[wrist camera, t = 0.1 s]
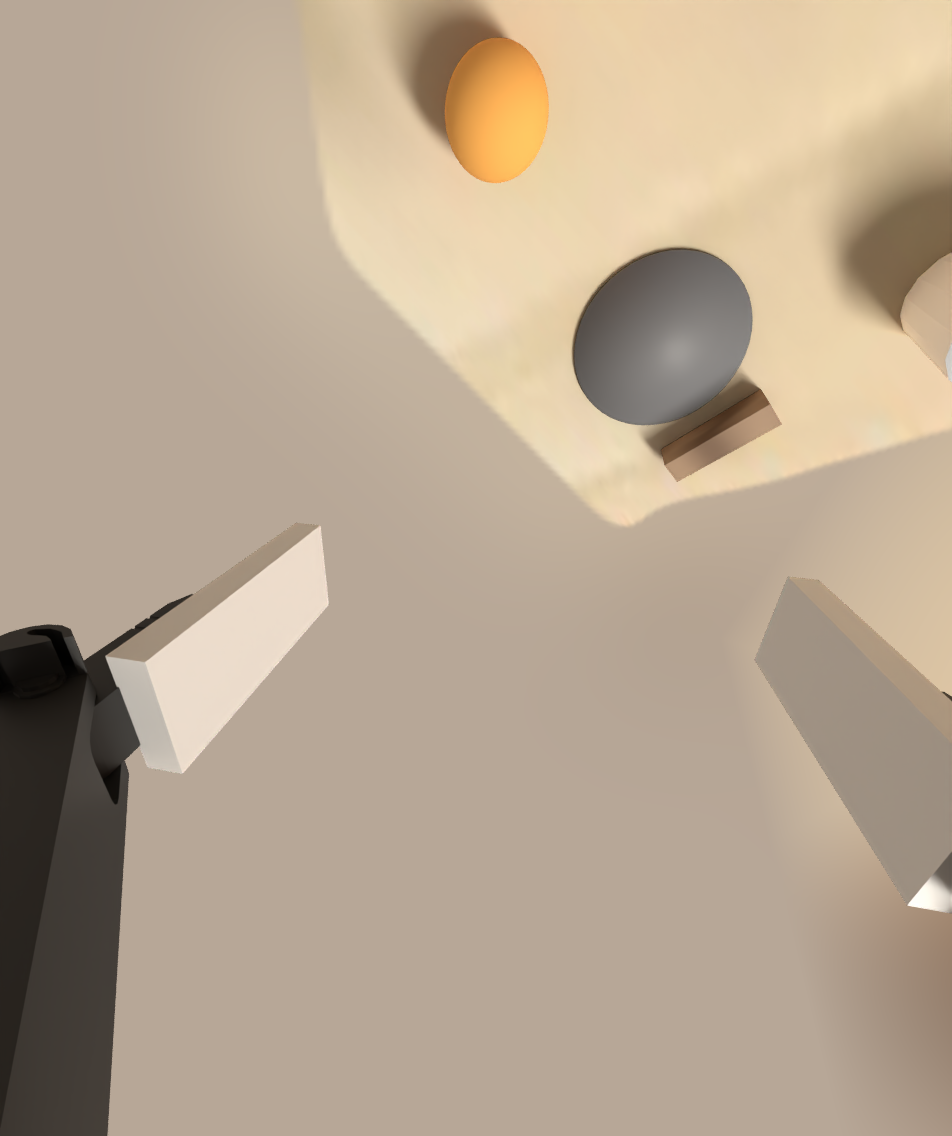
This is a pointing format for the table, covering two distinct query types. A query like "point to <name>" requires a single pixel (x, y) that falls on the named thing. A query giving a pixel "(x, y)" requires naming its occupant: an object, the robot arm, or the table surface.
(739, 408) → the strip
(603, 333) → the shallow gray dish
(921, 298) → the white cup
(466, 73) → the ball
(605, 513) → the table surface
